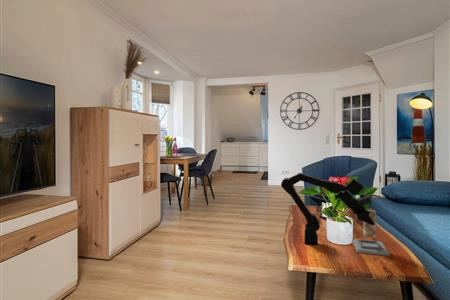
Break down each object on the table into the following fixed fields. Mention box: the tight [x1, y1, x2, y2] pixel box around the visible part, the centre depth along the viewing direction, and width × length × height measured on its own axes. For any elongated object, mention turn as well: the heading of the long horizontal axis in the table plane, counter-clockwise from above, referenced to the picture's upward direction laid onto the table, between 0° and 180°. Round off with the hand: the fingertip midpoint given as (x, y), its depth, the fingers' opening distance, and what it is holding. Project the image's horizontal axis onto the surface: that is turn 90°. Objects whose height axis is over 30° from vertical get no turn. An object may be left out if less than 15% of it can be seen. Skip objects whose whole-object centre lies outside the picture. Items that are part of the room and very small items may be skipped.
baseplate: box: [351, 238, 390, 257], centre depth 129 cm, size 14×14×2 cm
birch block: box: [362, 209, 377, 239], centre depth 129 cm, size 5×5×13 cm
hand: (372, 223), depth 129 cm, fingers closed on birch block, 5 cm apart
